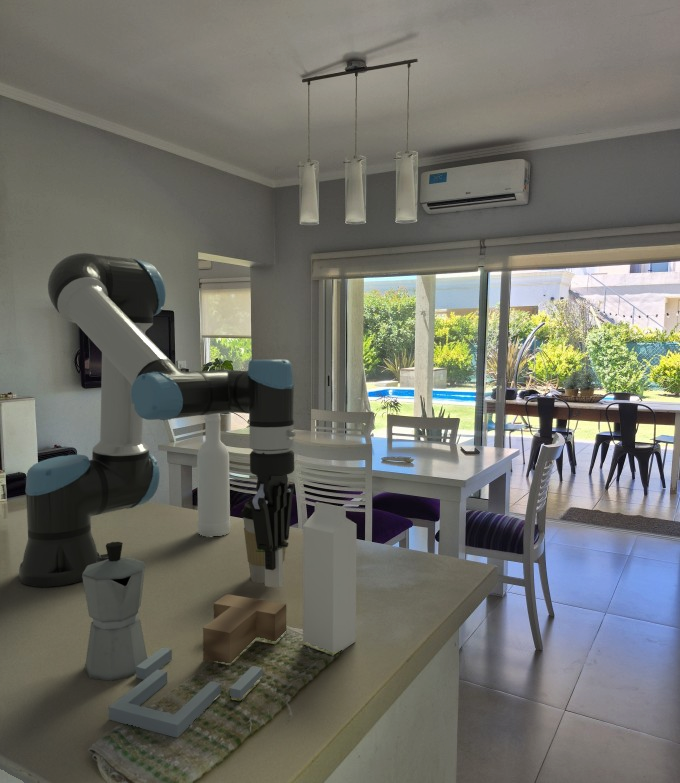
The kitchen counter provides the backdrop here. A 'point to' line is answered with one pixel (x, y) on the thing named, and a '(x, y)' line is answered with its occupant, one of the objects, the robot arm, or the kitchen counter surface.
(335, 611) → the milk
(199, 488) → the bottle
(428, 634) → the kitchen counter surface
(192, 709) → the t bay
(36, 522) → the robot arm
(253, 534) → the coffee cup
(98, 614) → the coffee maker
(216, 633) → the t block
